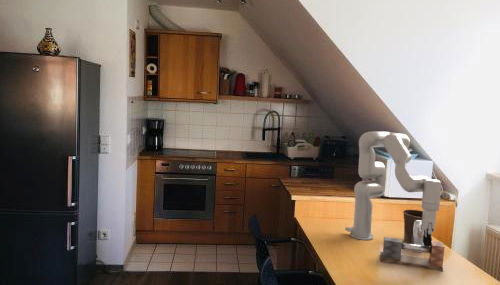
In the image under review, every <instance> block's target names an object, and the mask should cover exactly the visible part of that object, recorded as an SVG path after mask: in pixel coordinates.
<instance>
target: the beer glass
mask: <svg viewBox="0 0 500 285" xmlns="http://www.w3.org/2000/svg"><path fill="white" fill-rule="evenodd" d="M421 222H422V221H420V220H416V221H414V227H413V238H414V245H421V246H424V243H423V234H424V231H423V230H422V227H421ZM415 252H416V253H418V252H417V251H415Z"/></svg>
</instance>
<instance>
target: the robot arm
mask: <svg viewBox="0 0 500 285" xmlns="http://www.w3.org/2000/svg"><path fill="white" fill-rule="evenodd" d="M410 145H411V141H410V138H409V137H408V135H407V134H404V133H398V132H391V131H377V130H375V131H366V132H365V133H362V135H361V136H360V137H359V139H358V148H359V149H358V150H359V152H358V153H359V157H358V169H357V170H358V175H359V177H360V178H361V179H367V180H362V181H361V180H360V181H358V182H357V183H356V184H355V185H354V188H353V189H354V191H353V192H354V215H353V216H354V217H353V226H351V227H348V226H345V228H344V230H345V231H347V232H348V233H349V232H350V233H349V236H350V237H352V238H353V239H356V240H361V241H362V240H363V241H369V240H372V239H373V238H374V234H372V233H371V232H372V222H373V202H372V200H371V199H373V198H380V197H382V196H383V195H384V193H385V190H386V181H387V180H386V178H387V169H386V166H385V164H384V163H383V162H382V161H378V160H376V152H375V150H374V148H384V149H385V150H386V151H387V153H388V154H389V156H390V158H391V159H392V161H393V163H394V164H395V165H394V175H395V178H396V180H397V182H398V184H399V185H400V187H401V188H402V189H403V191H405V192H407V193H419V192H420V193H421V192H422V198H421V206H420V208H421V209H422V211H423V214H422V222H421V227H422V230H423V231H424V234H423V243H424V245H425V246H429V247H430V246H431V242H432V241H433V239H432V238H433V237H432V236H433V233H434V232H435V228H436V220H437V212H438V211H440V205H441V204H440V203H441V192H442V182H441V181H440V180H439V179H436V178H434V179H433V178H430V177H428V176H425V175H411V174H410V173H409V171H408V169H407V167H406V165H407V164H408V163H409V162H410V161H411V160H412V155H411V153H410V152H409V151H408V149H409V148H410ZM368 179H370V180H368Z"/></svg>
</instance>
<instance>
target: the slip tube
mask: <svg viewBox="0 0 500 285" xmlns="http://www.w3.org/2000/svg"><path fill="white" fill-rule="evenodd" d="M402 250H404V251H411V252H416V251H417V252H416V253H425V254H429V253H431V252H432V247H430V246H425V245H424V246H421V245H414V244H411V243H408V242H406V243H405V242H402Z"/></svg>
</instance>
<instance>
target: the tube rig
mask: <svg viewBox="0 0 500 285" xmlns="http://www.w3.org/2000/svg"><path fill="white" fill-rule="evenodd" d="M402 243H403V240H402V239H400V238H395V237H388V236H384V237H383V245H382V246H383V247H382V251H380V254H379V257H380V259H379V260H380V263H386V264H393V265H399V266H404V267H405V266H406V267H411V268H412V267H413V268H417V269H425V270H429V271H430V270H431V271H437V272H444V256H445V245H444V243H443V241H437V240H432V242H431V246H429V247H432V252H431V253H428V254H429V255H428V256H429V257H428V258H426V257H420V256H419V257H417V256H413V255H406V254H405V255H404V254H402V250H403V249H402Z"/></svg>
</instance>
